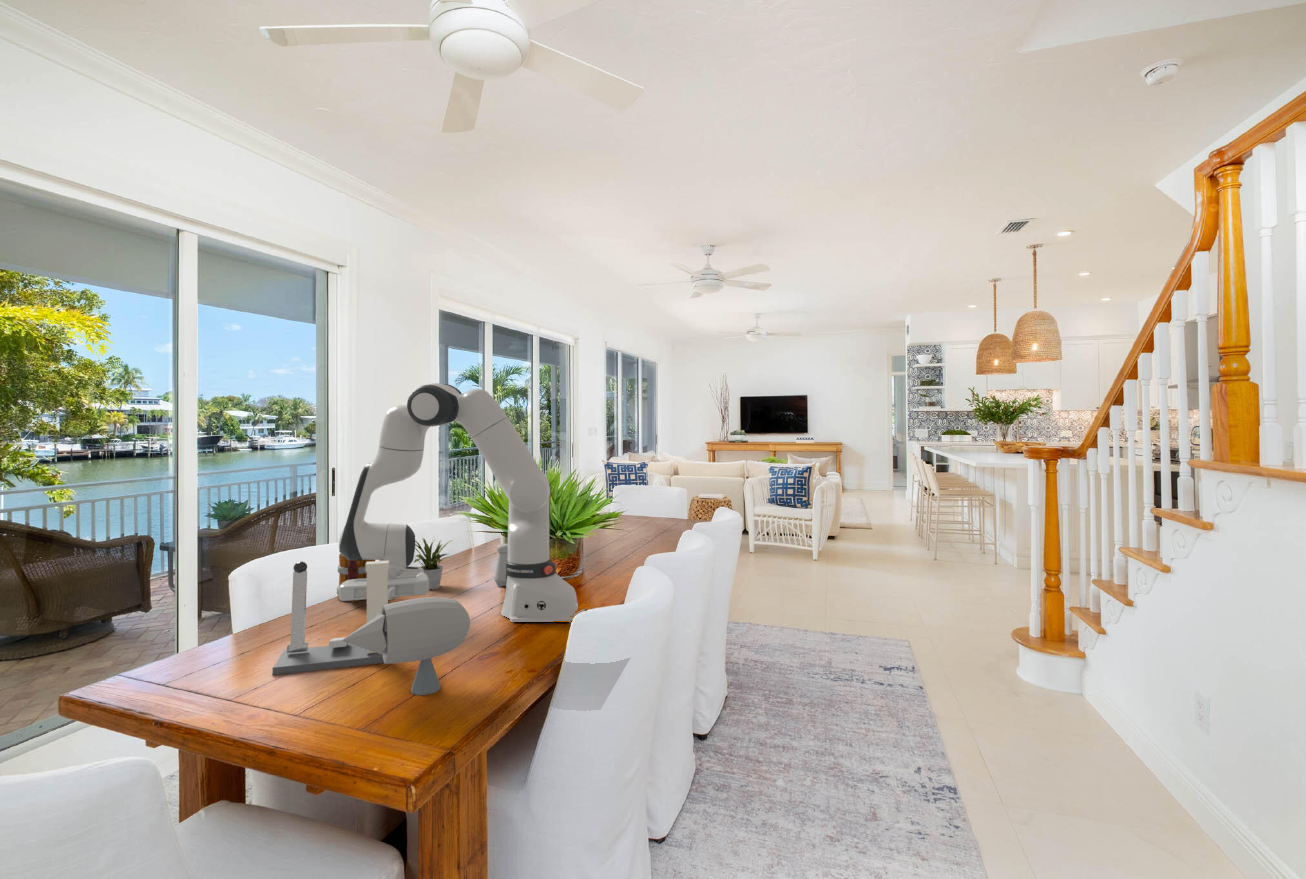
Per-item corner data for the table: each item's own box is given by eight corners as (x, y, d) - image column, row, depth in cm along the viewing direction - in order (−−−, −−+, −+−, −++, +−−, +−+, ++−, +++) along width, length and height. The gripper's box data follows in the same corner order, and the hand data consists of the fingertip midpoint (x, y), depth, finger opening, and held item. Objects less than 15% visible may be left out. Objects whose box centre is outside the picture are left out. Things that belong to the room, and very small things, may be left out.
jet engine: (376, 673, 122) (377, 588, 121) (475, 674, 122) (476, 589, 122) (339, 708, 107) (339, 610, 107) (451, 709, 107) (452, 611, 107)
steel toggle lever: (289, 651, 129) (292, 561, 131) (308, 650, 130) (311, 560, 132) (286, 654, 126) (289, 562, 129) (305, 652, 127) (308, 561, 130)
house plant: (391, 592, 180) (391, 538, 180) (417, 580, 194) (417, 530, 194) (435, 595, 178) (435, 540, 178) (458, 583, 192) (458, 532, 191)
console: (284, 656, 130) (284, 649, 130) (395, 645, 137) (395, 639, 137) (272, 674, 121) (272, 667, 121) (391, 661, 128) (391, 654, 128)
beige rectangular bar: (366, 650, 129) (366, 561, 129) (388, 648, 131) (389, 560, 131) (365, 654, 127) (365, 564, 127) (387, 651, 129) (388, 562, 128)
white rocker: (332, 644, 133) (332, 638, 133) (349, 643, 134) (349, 636, 134) (328, 648, 128) (328, 641, 128) (346, 646, 129) (346, 639, 129)
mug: (379, 589, 183) (380, 540, 183) (373, 605, 168) (373, 551, 167) (340, 592, 180) (340, 542, 179) (329, 608, 164) (329, 553, 164)
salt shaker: (508, 588, 187) (508, 546, 186) (490, 587, 188) (491, 545, 187) (515, 583, 192) (516, 543, 192) (499, 582, 193) (499, 542, 193)
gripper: (342, 572, 151) (333, 586, 138) (429, 566, 158) (428, 579, 145) (342, 597, 151) (333, 613, 138) (429, 590, 158) (428, 605, 145)
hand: (382, 596), depth 141 cm, fingers closed
